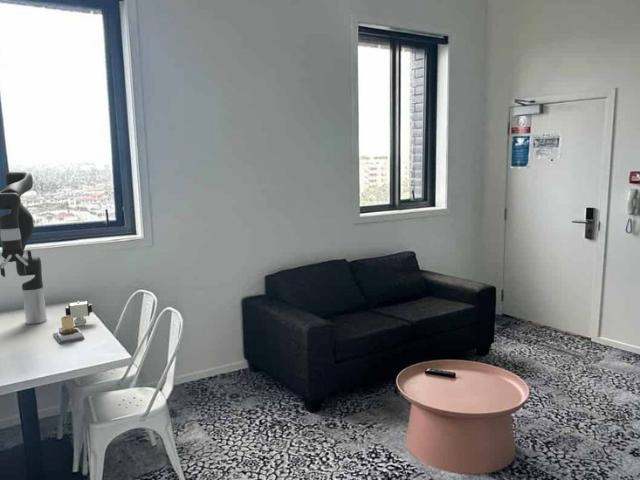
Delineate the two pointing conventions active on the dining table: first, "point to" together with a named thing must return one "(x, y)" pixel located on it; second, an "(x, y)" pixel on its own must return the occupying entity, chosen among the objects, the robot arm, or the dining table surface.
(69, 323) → the brass fitting
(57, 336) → the plate
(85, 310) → the pneumatic valve
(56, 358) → the dining table surface
